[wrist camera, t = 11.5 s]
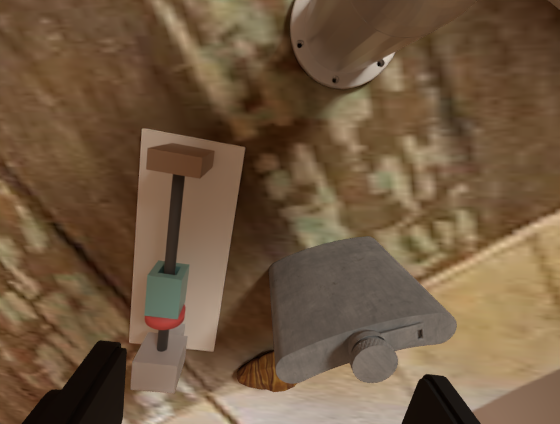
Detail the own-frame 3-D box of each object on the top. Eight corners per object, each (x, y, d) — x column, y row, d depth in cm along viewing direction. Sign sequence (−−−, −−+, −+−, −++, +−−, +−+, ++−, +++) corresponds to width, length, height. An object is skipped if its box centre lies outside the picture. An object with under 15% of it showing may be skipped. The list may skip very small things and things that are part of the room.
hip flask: (272, 283, 42) (283, 415, 23) (264, 259, 41) (269, 376, 22) (379, 253, 42) (479, 361, 23) (374, 228, 41) (475, 319, 22)
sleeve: (158, 260, 34) (147, 275, 31) (189, 264, 35) (182, 279, 31) (155, 297, 36) (144, 315, 32) (185, 300, 36) (177, 319, 33)
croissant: (315, 330, 45) (322, 354, 40) (324, 364, 47) (331, 391, 42) (230, 353, 45) (227, 379, 41) (243, 386, 47) (241, 415, 43)
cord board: (145, 128, 35) (106, 129, 26) (245, 147, 36) (241, 154, 27) (132, 336, 43) (98, 393, 34) (214, 345, 45) (203, 402, 35)
